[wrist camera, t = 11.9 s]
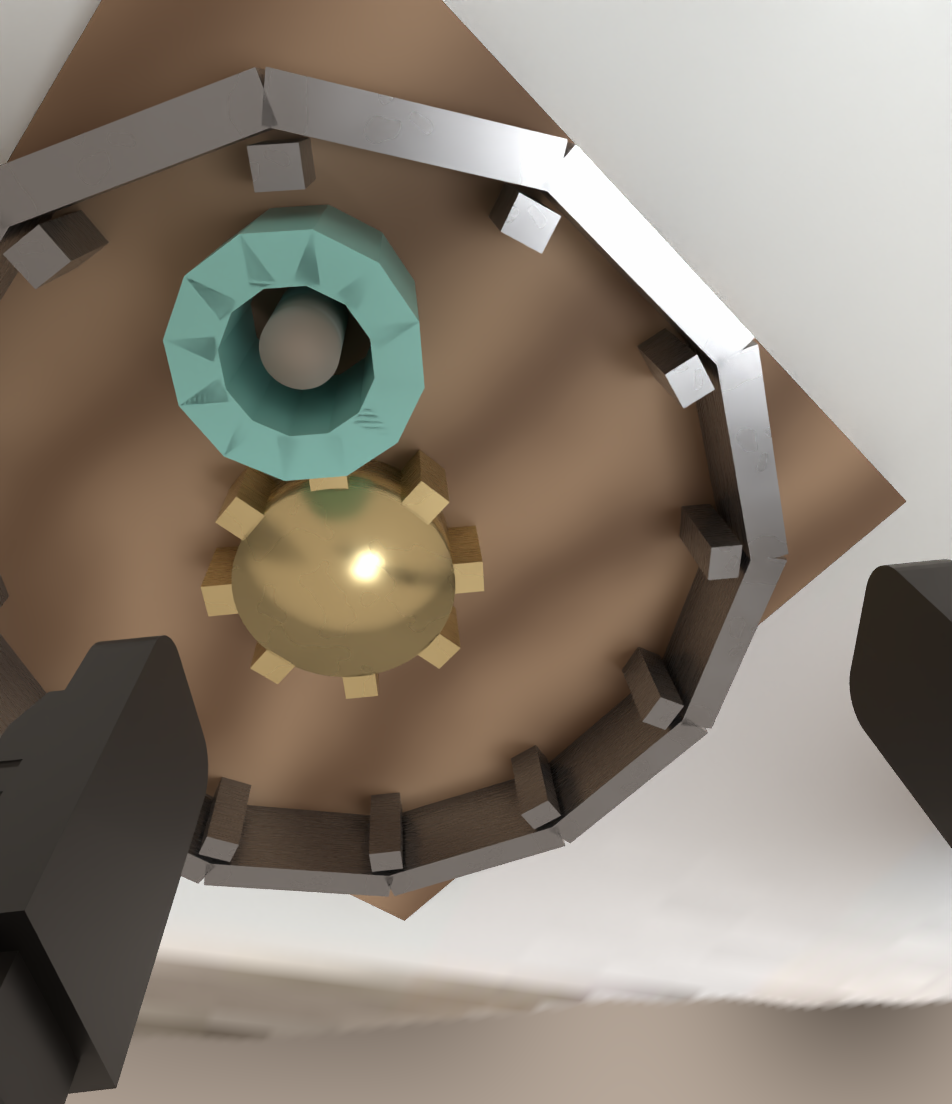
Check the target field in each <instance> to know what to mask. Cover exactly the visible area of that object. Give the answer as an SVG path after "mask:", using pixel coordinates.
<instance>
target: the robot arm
mask: <svg viewBox="0 0 952 1104" xmlns="http://www.w3.org/2000/svg"><path fill="white" fill-rule="evenodd" d="M850 695H851V700H852V705H853V708H854V711H855V714H856V716H857V719H858V721H859V723H860V725H861V726H862V728H863V729H864V731H865V732H866V734H867V735H868V736H869V738H870V739H871V740H872V742H873V743H874V744H875V746H876V747H877V748H878V750H879V751H880V752H881V754H882V755H883V756H884V758H885V759H886V761H887V762H888V763H889V765H890V766H891V767H892V769H893V770H894V771H895V773H896V774H897V775H898V777H899V778H900V779H901V781H902V782H903V783H904V785H905V786H906V787H907V789H908V790H909V791H910V793H911V794H912V796H913V797H914V798H915V800H916V801H917V802H918V804H919V805H920V806H921V808H922V809H923V810H924V812H925V813H926V814H927V816H928V817H929V818H930V820H931V821H932V822H933V824H934V825H935V826H936V828H937V829H938V831H939V832H940V833H941V835H942V836H943V837H944V839H945V840H946V841H947V843H948V844H949V845H950V847H951V848H952V560H947V559H943V560H933V561H923V562H913V563H903V564H893V565H883V566H879V567H877V568H876V569H875V570H874V571H873V572H872V574H871V575H870V577H869V580H868V583H867V587H866V592H865V597H864V602H863V608H862V613H861V618H860V624H859V629H858V634H857V639H856V645H855V650H854V655H853V661H852V666H851V671H850ZM207 782H208V754H207V747H206V742H205V738H204V734H203V731H202V728H201V724H200V721H199V718H198V715H197V711H196V708H195V705H194V701H193V698H192V695H191V692H190V688H189V685H188V682H187V679H186V675H185V672H184V669H183V665H182V662H181V659H180V656H179V653H178V650H177V647H176V645H175V643H174V642H173V640H172V639H171V638H170V637H168V636H166V635H161V636H151V637H141V638H131V639H121V640H111V641H101V642H97V643H95V644H94V645H93V646H92V647H91V648H90V649H89V651H88V652H87V654H86V656H85V657H84V659H83V661H82V662H81V664H80V666H79V667H78V669H77V671H76V672H75V674H74V676H73V677H72V679H71V680H70V682H69V684H68V685H67V687H66V689H65V690H61V691H51V692H48V693H47V694H46V695H44V696H43V697H42V698H41V699H40V700H38V701H37V702H36V703H35V704H34V705H32V706H31V707H30V708H29V709H28V710H26V711H25V712H24V713H23V714H22V715H20V716H19V717H18V718H17V719H16V720H14V721H13V722H12V723H11V724H10V725H8V727H7V728H6V730H5V731H4V733H3V734H2V736H1V737H0V1104H64V1103H65V1101H66V1098H67V1095H68V1094H70V1093H78V1092H87V1091H95V1090H104V1089H113V1088H116V1087H117V1083H118V1080H119V1077H120V1074H121V1071H122V1067H123V1064H124V1061H125V1057H126V1054H127V1051H128V1048H129V1044H130V1041H131V1038H132V1034H133V1031H134V1028H135V1025H136V1021H137V1018H138V1015H139V1011H140V1008H141V1005H142V1002H143V998H144V995H145V992H146V988H147V985H148V982H149V979H150V975H151V972H152V969H153V965H154V962H155V959H156V956H157V952H158V949H159V946H160V942H161V939H162V936H163V933H164V929H165V926H166V923H167V919H168V916H169V913H170V910H171V906H172V903H173V900H174V896H175V893H176V890H177V887H178V883H179V880H180V877H181V873H182V870H183V867H184V864H185V860H186V857H187V854H188V850H189V847H190V844H191V841H192V837H193V834H194V831H195V827H196V824H197V821H198V818H199V814H200V811H201V808H202V804H203V801H204V798H205V794H206V789H207Z"/></svg>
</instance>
